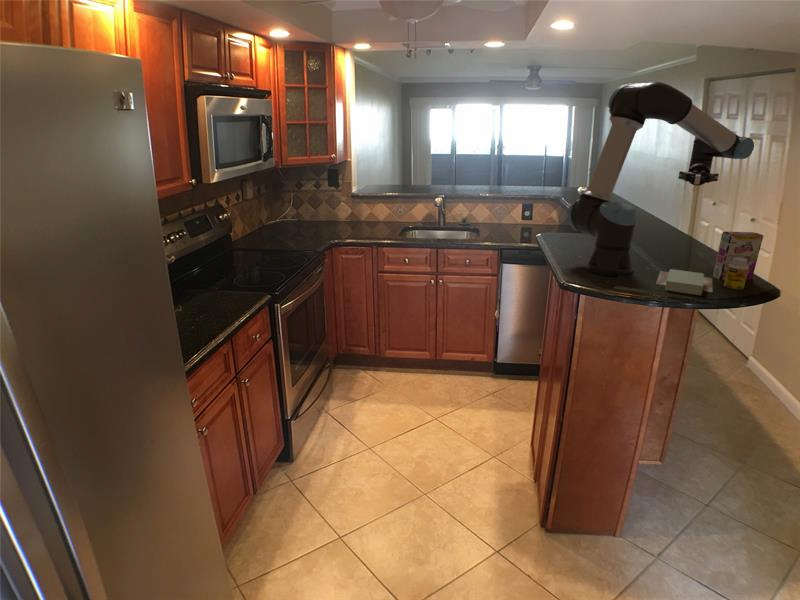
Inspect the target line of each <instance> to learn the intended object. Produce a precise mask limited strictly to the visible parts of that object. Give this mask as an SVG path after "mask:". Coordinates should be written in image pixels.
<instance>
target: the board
mask: <svg viewBox="0 0 800 600" xmlns="http://www.w3.org/2000/svg"><path fill="white" fill-rule="evenodd" d="M668 274H669V271H663V270H660V271H659V274H658V277H657V280H656V282H655V285H660V286H666V282H667V278H668ZM702 292H709V293H713V292H714V291H713V277H708V276H704V281H703V290H702Z"/></svg>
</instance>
